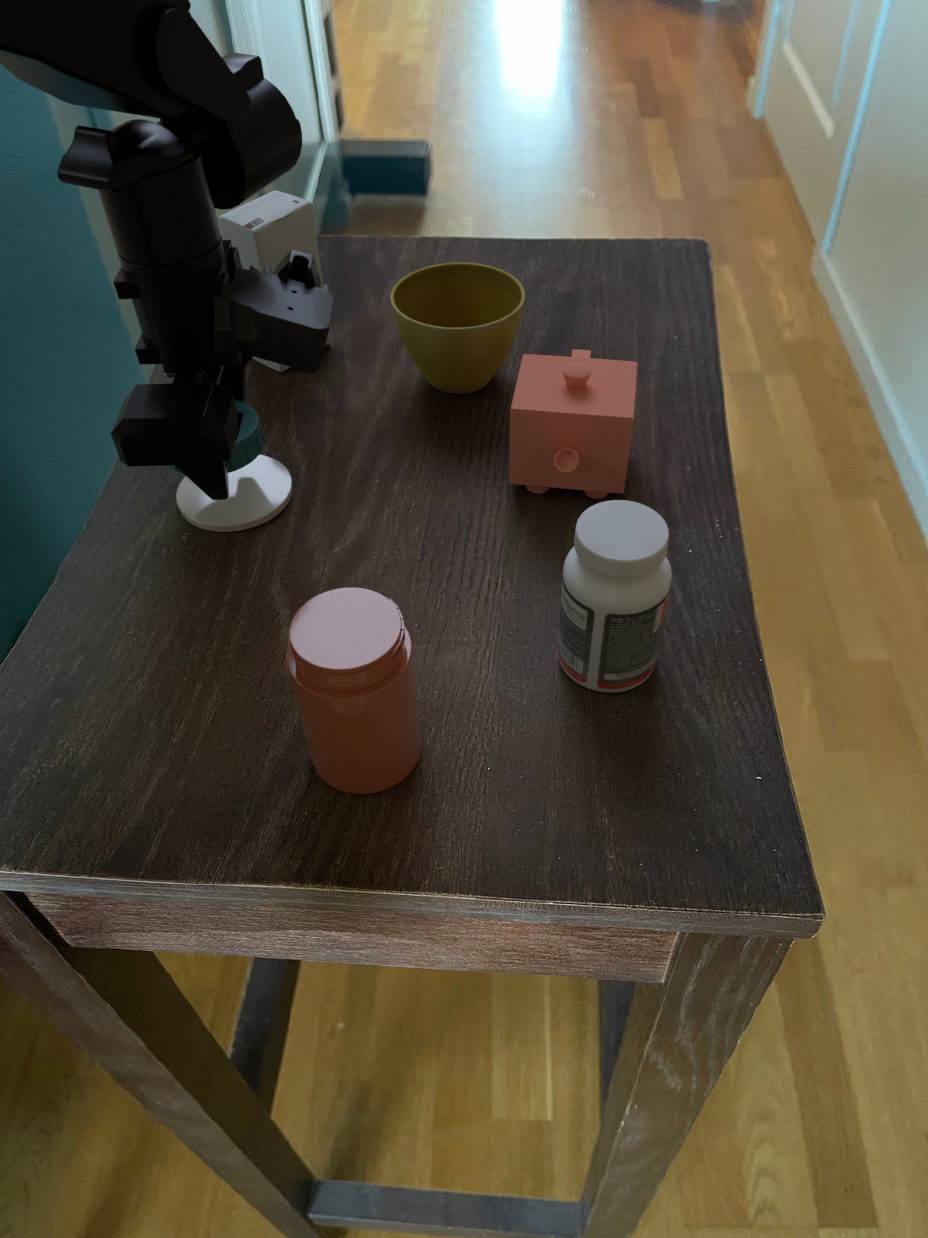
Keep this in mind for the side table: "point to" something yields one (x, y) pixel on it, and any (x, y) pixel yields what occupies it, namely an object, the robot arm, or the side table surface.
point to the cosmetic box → (272, 235)
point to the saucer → (239, 498)
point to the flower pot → (458, 322)
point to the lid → (244, 439)
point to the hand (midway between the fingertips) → (228, 467)
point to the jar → (355, 689)
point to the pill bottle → (614, 596)
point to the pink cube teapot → (572, 423)
